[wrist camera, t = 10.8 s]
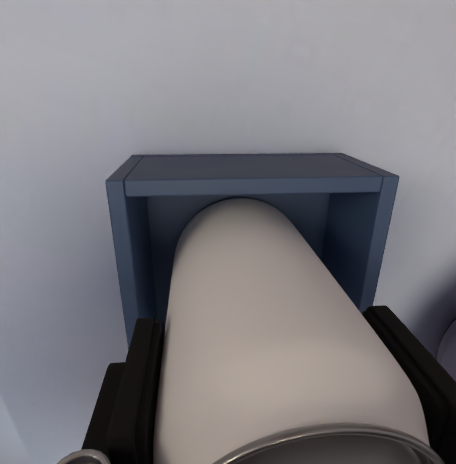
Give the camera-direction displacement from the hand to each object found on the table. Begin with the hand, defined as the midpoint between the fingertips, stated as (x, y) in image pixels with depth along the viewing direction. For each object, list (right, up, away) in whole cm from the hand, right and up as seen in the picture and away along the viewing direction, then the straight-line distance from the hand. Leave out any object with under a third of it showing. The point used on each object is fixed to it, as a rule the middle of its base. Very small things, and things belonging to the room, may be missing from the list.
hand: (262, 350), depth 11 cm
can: (-1, +3, +7) cm, 7 cm away
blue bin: (-1, +3, +7) cm, 8 cm away
